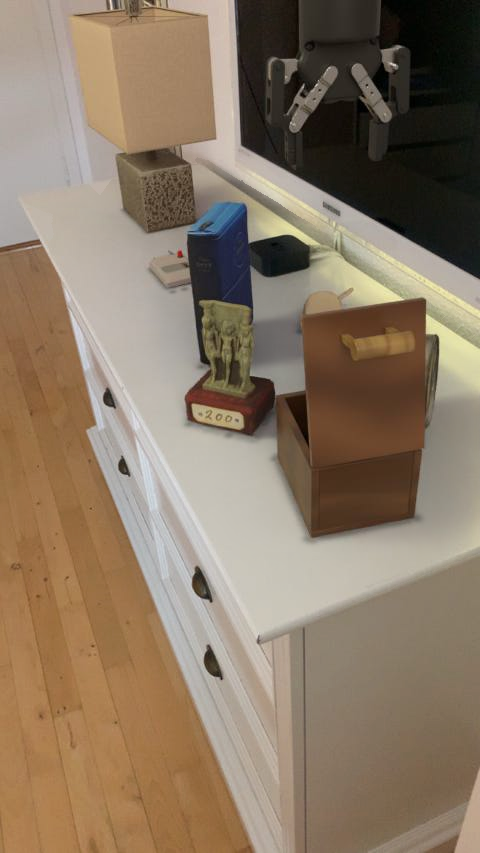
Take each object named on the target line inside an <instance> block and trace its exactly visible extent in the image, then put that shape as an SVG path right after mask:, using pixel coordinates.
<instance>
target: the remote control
mask: <svg viewBox="0 0 480 853" xmlns="http://www.w3.org/2000/svg"><path fill="white" fill-rule="evenodd" d="M168 253H169V254H166V255H165V254H164V255H162V256H157V257H153V258H151V259H150V260H149V261H148V262H149V268H150V270H151V271H152V272H153V273H154V275H156V277H157V278H158V279H159V280H160V281H161V282H162V283H163V284H164V286H165V287H166V288H168V289H169V288H172V287H178V286H182V285H187V284H191V278H190V269H189V261H188V256H186V255H185V254H184V253H183V251H182V250H179V249H178V250H177V251H176V253H174V252H173V251H171V250H168Z"/></svg>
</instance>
